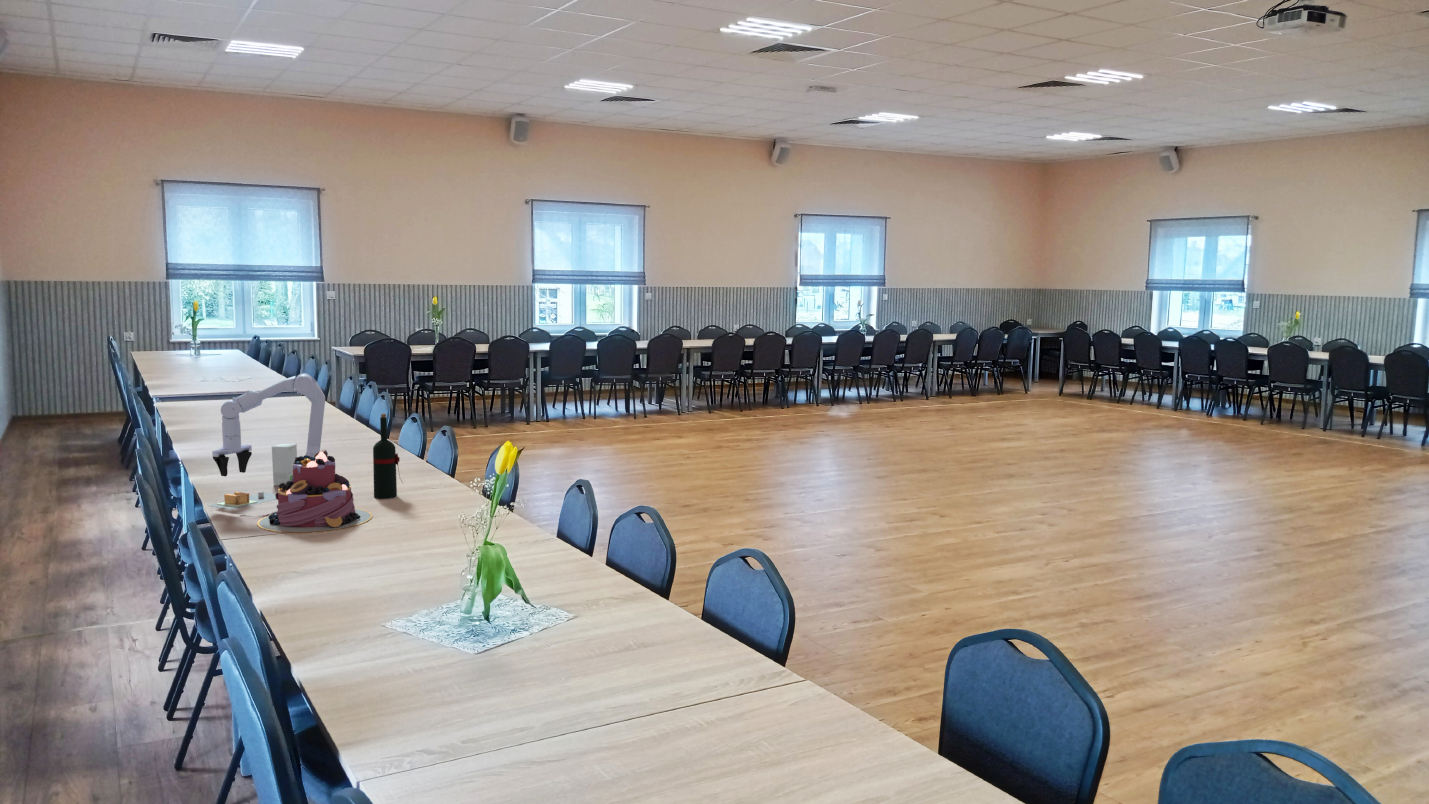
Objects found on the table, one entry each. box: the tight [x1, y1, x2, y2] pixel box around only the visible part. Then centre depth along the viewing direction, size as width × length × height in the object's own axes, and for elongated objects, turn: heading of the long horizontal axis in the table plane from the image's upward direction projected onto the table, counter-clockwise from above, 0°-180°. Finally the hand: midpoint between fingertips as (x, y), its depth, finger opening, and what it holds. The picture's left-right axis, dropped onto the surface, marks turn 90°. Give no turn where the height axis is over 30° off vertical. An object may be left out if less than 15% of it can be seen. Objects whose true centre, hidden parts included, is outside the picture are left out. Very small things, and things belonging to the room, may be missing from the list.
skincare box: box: [271, 443, 298, 487], centre depth 383 cm, size 8×7×16 cm
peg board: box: [207, 491, 277, 510], centre depth 355 cm, size 12×24×3 cm, turn 156°
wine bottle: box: [372, 413, 404, 500], centre depth 367 cm, size 8×10×30 cm
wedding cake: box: [256, 449, 373, 534], centre depth 332 cm, size 35×35×23 cm
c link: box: [223, 491, 250, 505], centre depth 350 cm, size 6×5×3 cm
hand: (233, 474), depth 355 cm, fingers open, 7 cm apart
